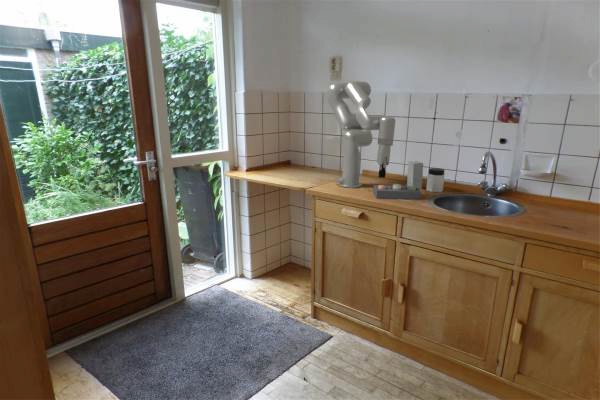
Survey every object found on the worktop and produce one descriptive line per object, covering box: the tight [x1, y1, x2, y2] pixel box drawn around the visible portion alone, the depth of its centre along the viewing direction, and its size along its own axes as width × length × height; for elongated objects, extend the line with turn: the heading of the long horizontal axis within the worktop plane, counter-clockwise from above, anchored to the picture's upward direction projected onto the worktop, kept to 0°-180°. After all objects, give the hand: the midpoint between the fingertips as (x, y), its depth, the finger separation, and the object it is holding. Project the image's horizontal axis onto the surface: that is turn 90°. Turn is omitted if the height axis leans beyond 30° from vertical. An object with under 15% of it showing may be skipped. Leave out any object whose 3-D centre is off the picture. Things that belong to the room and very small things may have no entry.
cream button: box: [392, 183, 402, 190], centre depth 203 cm, size 4×4×4 cm
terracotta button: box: [378, 184, 388, 189], centre depth 203 cm, size 4×4×4 cm
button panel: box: [373, 184, 422, 201], centre depth 203 cm, size 22×12×4 cm, turn 87°
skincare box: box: [406, 160, 424, 190], centre depth 222 cm, size 8×6×15 cm
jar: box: [425, 167, 445, 193], centre depth 216 cm, size 9×8×12 cm
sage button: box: [406, 185, 416, 190], centre depth 203 cm, size 4×4×4 cm
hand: (381, 177), depth 202 cm, fingers closed
